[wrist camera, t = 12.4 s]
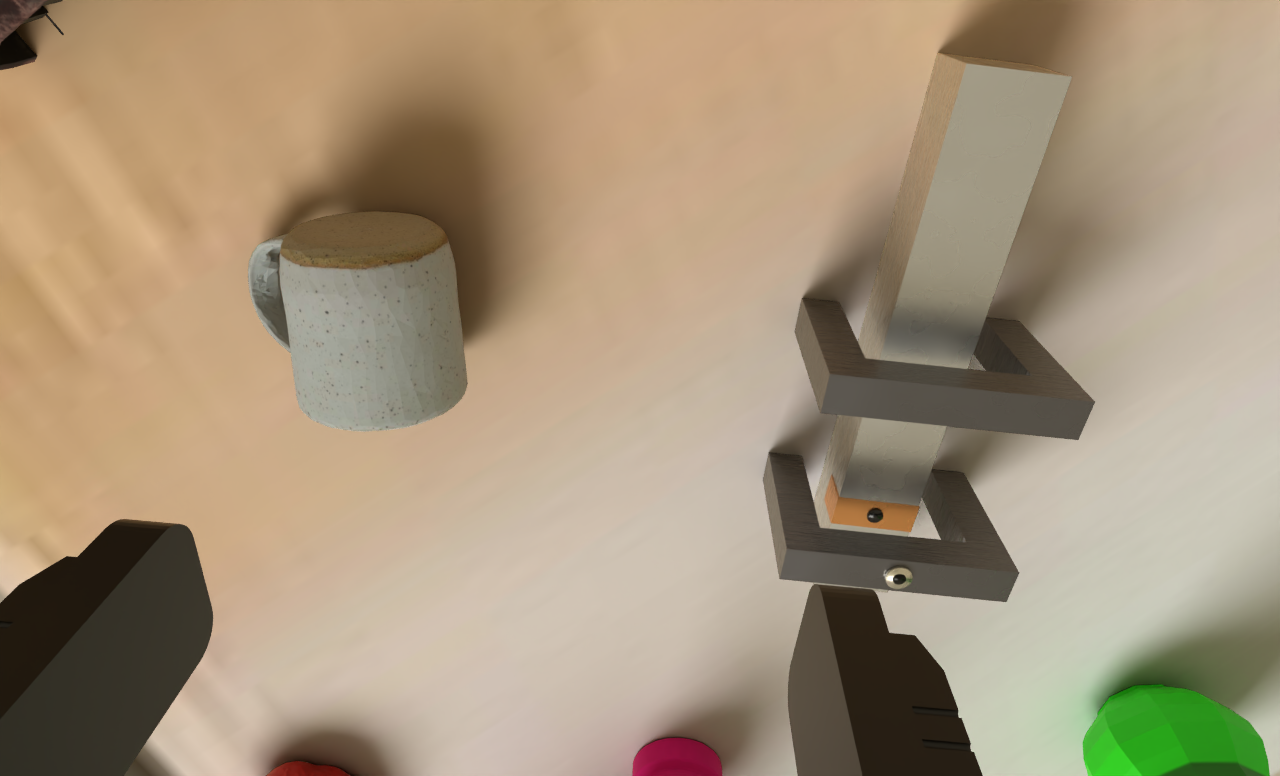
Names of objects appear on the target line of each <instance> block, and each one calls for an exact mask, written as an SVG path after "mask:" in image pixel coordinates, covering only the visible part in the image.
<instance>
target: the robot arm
mask: <svg viewBox="0 0 1280 776" xmlns="http://www.w3.org/2000/svg"><path fill="white" fill-rule="evenodd" d="M212 625H213V611H212V606H211V602H210V598H209V595H208V591H207V587H206V583H205V579H204V576H203V572H202V568H201V564H200V560H199V556H198V553H197V549H196V545H195V541H194V538H193V535H192V533H191V531H190V529H189V528H188V527H187V526H185V525H182V524H173V523H162V522H151V521H140V520H129V519H121V520H118V521H115V522H113V523H112V524H110V525H109V526H108V527H107V528H105V529H104V530H103V532H102V533H101V534H100V535H99V536H98V537H97V538H96V539H95V540H94V541H93V542H92V543H91V544H90V545H89V546H88V547H87V548H86V549H85V550H84V551H83V552H82V553H81V554H80V555H79V556H78V557H69V556H66V557H65V558H63V559H61V560H60V561H58V562H56V563H55V564H53V565H51V566H50V567H48V568H46V569H45V570H43V571H41V572H40V573H38V574H36V575H35V576H33V577H31V578H30V579H28V580H26V581H25V582H23V583H21V584H19V585H18V586H17V587H16V588H15V589H14V590H13V591H12V592H11V593H10V594H9V595H8V596H7V597H6V598H5V599H4V600H3V601H2V602H1V603H0V776H124V774H125V773H126V771H127V770H128V768H129V767H130V765H131V764H132V762H133V761H134V759H135V758H136V756H137V755H138V754H139V752H140V751H141V749H142V748H143V746H144V745H145V743H146V742H147V740H148V739H149V737H150V736H151V734H152V733H153V731H154V730H155V728H156V727H157V725H158V724H159V722H160V721H161V719H162V718H163V716H164V715H165V713H166V712H167V710H168V709H169V707H170V706H171V704H172V703H173V701H174V700H175V698H176V697H177V695H178V694H179V692H180V691H181V689H182V688H183V686H184V685H185V683H186V682H187V680H188V679H189V677H190V676H191V674H192V673H193V671H194V670H195V668H196V667H197V665H198V664H199V662H200V660H201V659H202V657H203V655H204V653H205V651H206V649H207V646H208V643H209V640H210V636H211V632H212ZM788 708H789V718H790V725H791V732H792V739H793V745H794V752H795V759H796V766H797V773H798V776H983V775H982V773H981V770H980V767H979V765H978V762H977V759H976V756H975V754H974V752H971V749H970V744H971V743H970V740H969V737H968V735H967V732H966V729H965V727H964V724H963V721H962V718H959V717H958V708H957V705H956V702H955V699H954V697H953V694H952V691H951V689H950V686H949V683H948V680H947V678H946V675H945V672H944V670H943V669H942V668H941V666H940V665H939V664H938V663H937V662H936V660H935V659H934V658H933V657H932V656H931V654H930V653H929V652H928V651H927V649H926V648H925V647H924V646H923V645H922V643H921V642H920V641H919V640H918V639H917V637H916V636H915V635H905V634H894V633H889V631H888V628H887V624H886V621H885V618H884V615H883V611H882V608H881V605H880V602H879V599H878V596H877V594H876V593H875V591H874V590H872V589H865V588H854V587H843V586H832V585H821V584H814V585H813V586H812V587H811V589H810V592H809V595H808V599H807V603H806V607H805V611H804V614H803V618H802V622H801V626H800V630H799V634H798V638H797V642H796V646H795V649H794V653H793V657H792V661H791V666H790V672H789V682H788Z"/></svg>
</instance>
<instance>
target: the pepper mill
mask: <svg viewBox="0 0 1280 776" xmlns="http://www.w3.org/2000/svg"><path fill="white" fill-rule="evenodd" d="M632 776H722V766H721V762H720V760H719V757H718V756H717V754H716V753H715V752H714V751H713V750H712V749H711V748H709V747H708V746H706V745H704V744H703V743H701V742H698V741H695V740H692V739H686V738H666V739H661V740H657V741H654V742H652V743H650V744H648V745H646V746H645V747H644V748H642V749H641V750H640V751H639V752H638V754H637V755H636V757H635V759H634V762H633V775H632Z"/></svg>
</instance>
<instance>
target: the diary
mask: <svg viewBox="0 0 1280 776" xmlns="http://www.w3.org/2000/svg"><path fill="white" fill-rule="evenodd" d="M60 1H62V0H0V70H4V69H9V68H14V67H17V66H21V65H24V64H28V63H31V62H34V61H35V59H36V58H37V55H36V54H35V53H34V52H33V51H32V50H31V48H30V47H29V46H28V45H27V44H26V43H25V42H24V40H23V39H22V38H21V37H20V36H19V35H18V34H17V32H16V31H15V29H17V28H18V27H19V26H20V25H21V24H23V23H27V22H30V21H33V20H36V19H39V18H43V17H44V16H45V15H46V16H47V18H48V19H49V20H50V21H51V22H52V23H53V25H54V26H55V27H56V28H57V29H58V31H59V32H60V33H61V34H62V35H64V34H63V32H62V31H61V30H60V29H59V28H58V27H57V25H56V24H55V23H54V22H53V21H52V19H51V18H50V17H49V16H48V15H47V13H48V11H47V10H46V9H45V8H44V5H48V4H52V3H56V2H60Z"/></svg>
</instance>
